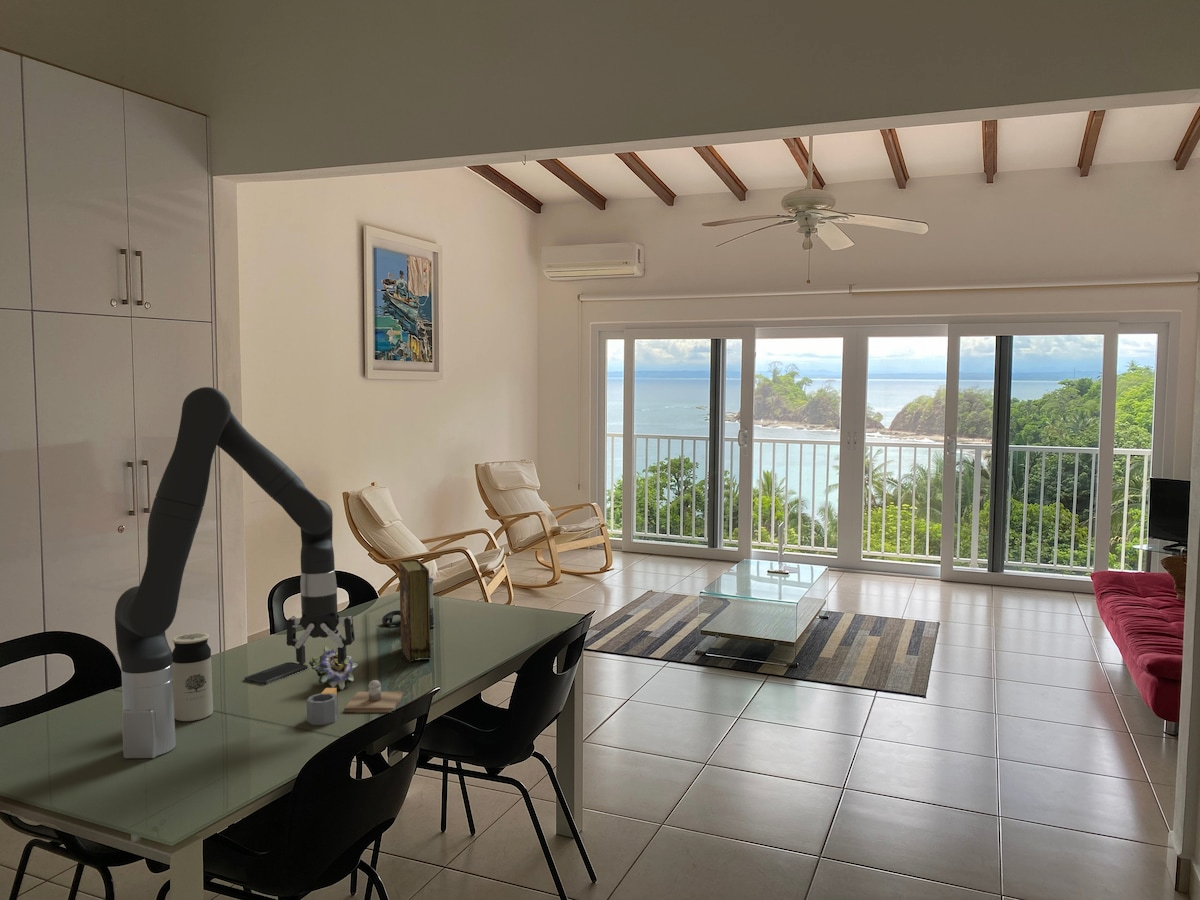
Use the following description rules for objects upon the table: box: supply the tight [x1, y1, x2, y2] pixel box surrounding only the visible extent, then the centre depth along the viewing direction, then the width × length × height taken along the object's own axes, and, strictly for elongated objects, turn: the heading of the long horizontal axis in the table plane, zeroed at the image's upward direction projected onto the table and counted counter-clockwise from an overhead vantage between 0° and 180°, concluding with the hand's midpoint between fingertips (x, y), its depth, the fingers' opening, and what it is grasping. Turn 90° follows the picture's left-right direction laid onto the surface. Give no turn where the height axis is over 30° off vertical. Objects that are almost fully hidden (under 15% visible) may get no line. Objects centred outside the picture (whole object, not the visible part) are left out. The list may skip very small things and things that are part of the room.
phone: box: [244, 661, 309, 686], centre depth 228 cm, size 8×1×15 cm
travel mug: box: [172, 632, 214, 722], centre depth 199 cm, size 8×8×18 cm
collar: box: [306, 687, 339, 726], centre depth 198 cm, size 10×6×5 cm, turn 0°
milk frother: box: [381, 577, 435, 627], centre depth 274 cm, size 14×16×15 cm
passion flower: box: [308, 645, 358, 691], centre depth 219 cm, size 11×11×12 cm
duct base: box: [344, 679, 405, 714], centre depth 206 cm, size 11×11×6 cm
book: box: [398, 559, 432, 662], centre depth 244 cm, size 16×6×25 cm, turn 22°
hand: (321, 663), depth 196 cm, fingers open, 8 cm apart
